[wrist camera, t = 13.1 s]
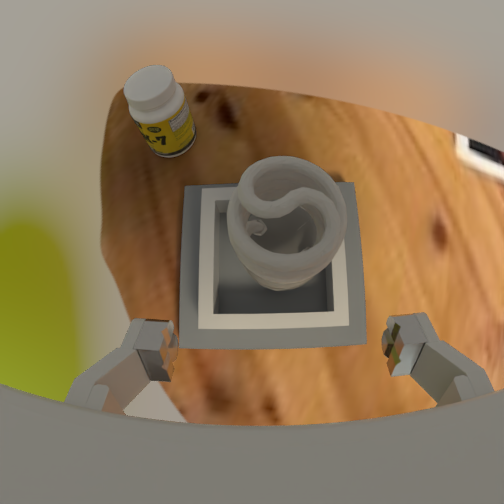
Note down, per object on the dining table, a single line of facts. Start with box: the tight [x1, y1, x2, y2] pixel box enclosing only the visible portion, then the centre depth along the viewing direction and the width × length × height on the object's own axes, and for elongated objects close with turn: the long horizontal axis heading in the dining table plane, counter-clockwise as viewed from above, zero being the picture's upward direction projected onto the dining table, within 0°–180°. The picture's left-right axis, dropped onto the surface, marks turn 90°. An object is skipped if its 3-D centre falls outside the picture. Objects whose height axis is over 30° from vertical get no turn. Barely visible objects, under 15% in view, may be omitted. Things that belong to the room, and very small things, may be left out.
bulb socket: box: [179, 182, 367, 349], centre depth 24 cm, size 14×13×4 cm
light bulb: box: [227, 156, 347, 291], centre depth 18 cm, size 6×6×12 cm
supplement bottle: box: [124, 65, 196, 158], centre depth 25 cm, size 5×5×8 cm
